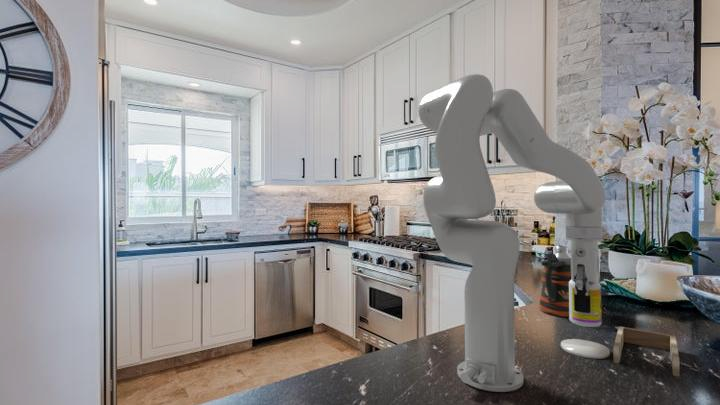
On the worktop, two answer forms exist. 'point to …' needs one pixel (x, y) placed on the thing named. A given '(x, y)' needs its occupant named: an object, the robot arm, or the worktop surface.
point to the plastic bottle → (561, 251)
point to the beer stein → (555, 286)
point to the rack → (647, 343)
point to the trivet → (585, 348)
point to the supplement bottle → (595, 303)
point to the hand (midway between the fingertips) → (584, 307)
